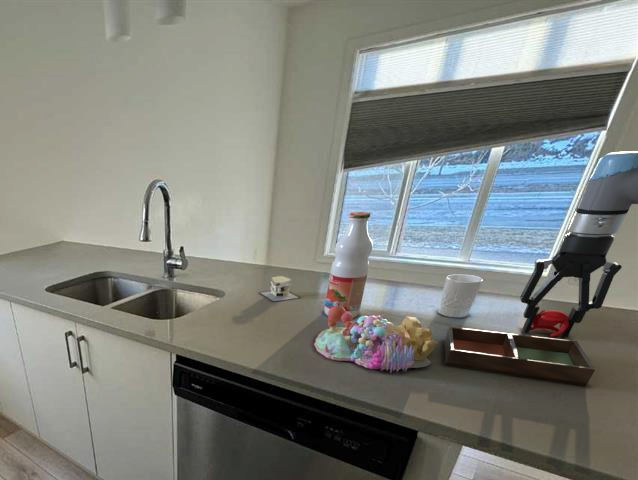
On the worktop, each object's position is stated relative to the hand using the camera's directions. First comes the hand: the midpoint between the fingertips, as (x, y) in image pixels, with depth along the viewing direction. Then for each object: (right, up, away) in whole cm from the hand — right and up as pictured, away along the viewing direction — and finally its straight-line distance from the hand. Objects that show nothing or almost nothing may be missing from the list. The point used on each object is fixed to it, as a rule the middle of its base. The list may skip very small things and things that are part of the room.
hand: (544, 332), depth 98 cm
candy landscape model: (-43, -5, 0) cm, 43 cm away
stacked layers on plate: (-50, +18, +40) cm, 66 cm away
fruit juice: (-39, +8, +21) cm, 45 cm away
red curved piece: (0, 0, 0) cm, 1 cm away
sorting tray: (-18, -8, -9) cm, 22 cm away
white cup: (-11, +7, +15) cm, 20 cm away
